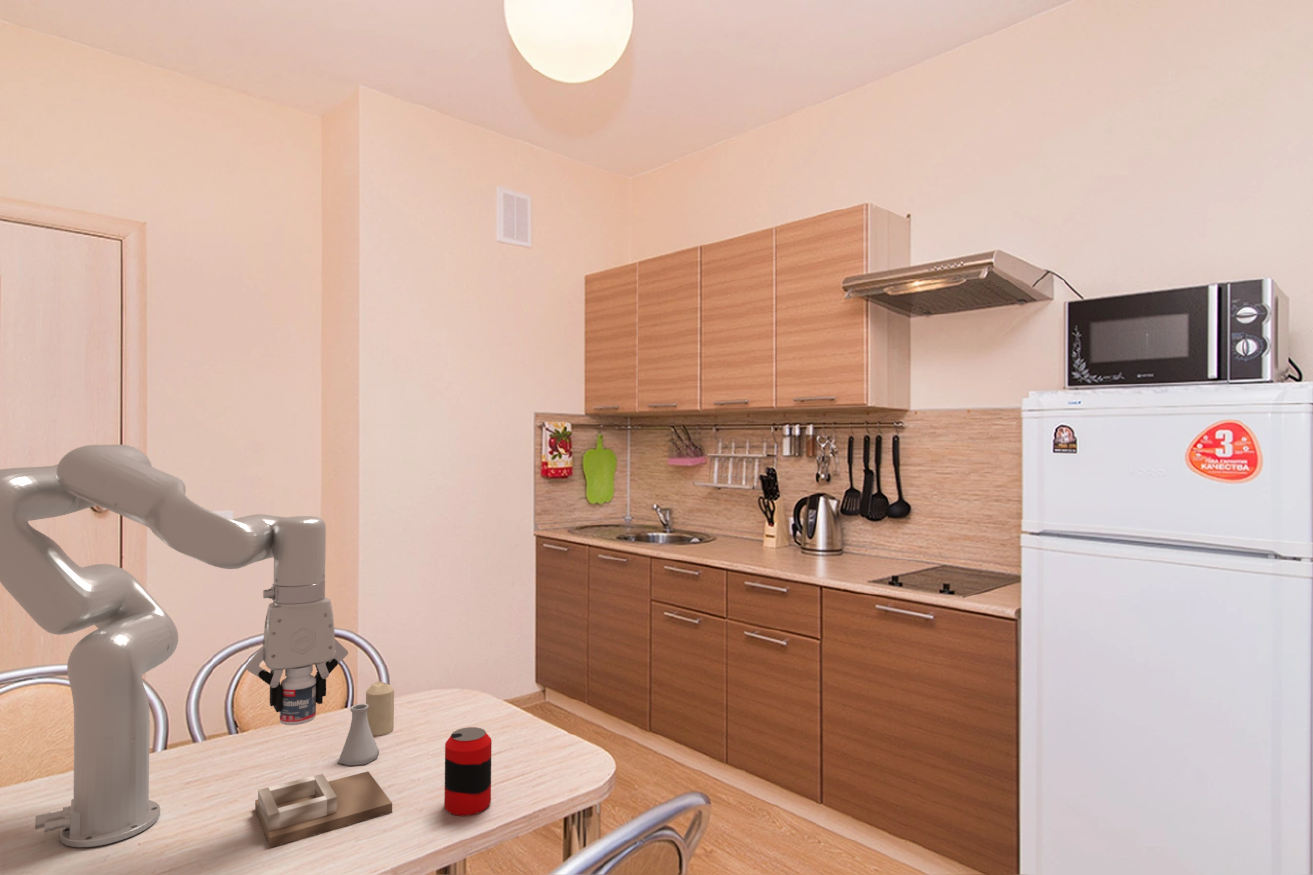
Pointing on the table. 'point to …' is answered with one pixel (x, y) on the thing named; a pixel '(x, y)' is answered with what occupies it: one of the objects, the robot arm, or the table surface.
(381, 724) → the candle
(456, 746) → the soda can
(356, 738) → the flask
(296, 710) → the pill bottle
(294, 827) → the socket board
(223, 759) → the table surface
